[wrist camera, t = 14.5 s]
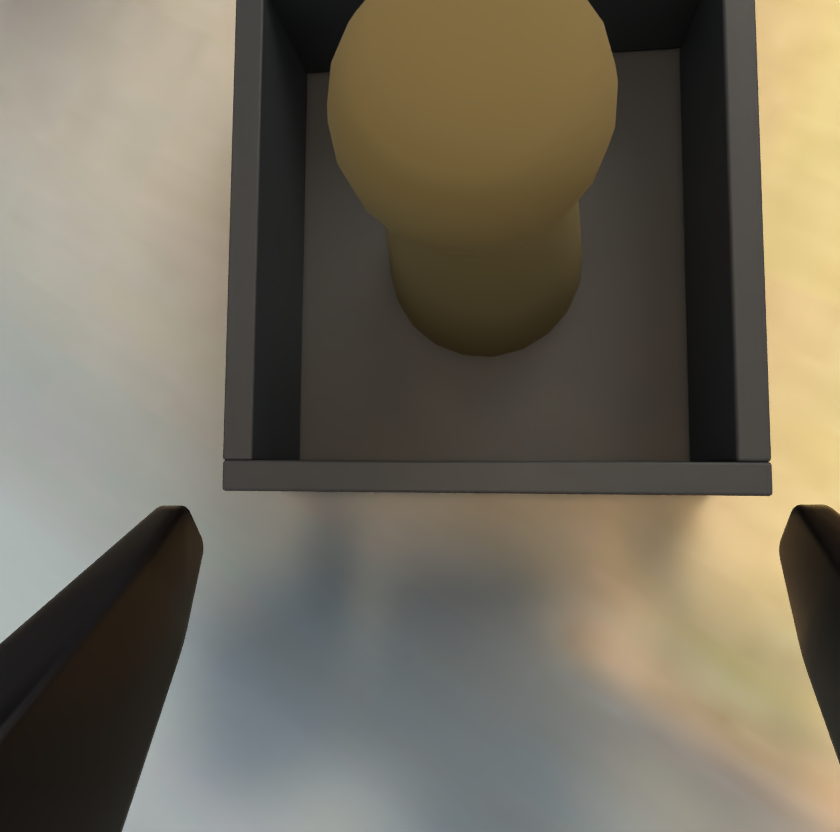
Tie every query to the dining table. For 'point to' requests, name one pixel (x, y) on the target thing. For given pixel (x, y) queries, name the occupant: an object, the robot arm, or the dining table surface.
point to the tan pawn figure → (475, 155)
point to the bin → (545, 358)
